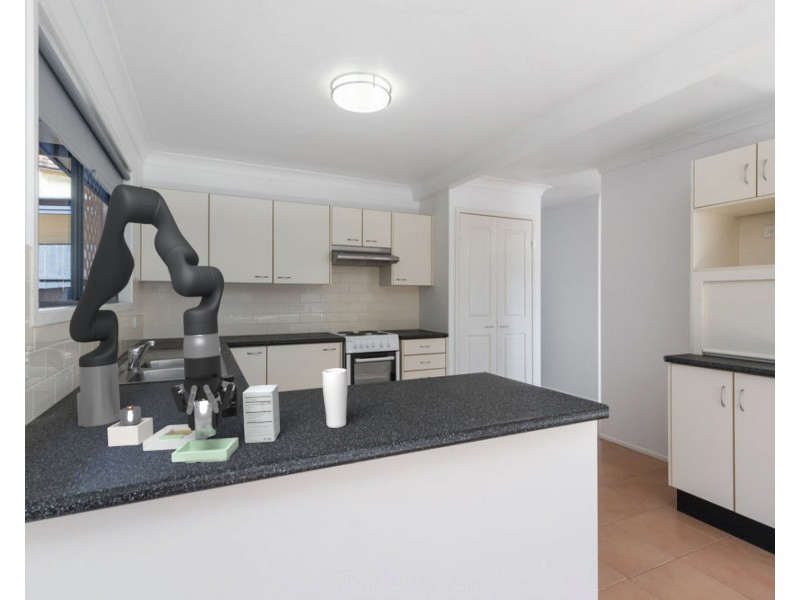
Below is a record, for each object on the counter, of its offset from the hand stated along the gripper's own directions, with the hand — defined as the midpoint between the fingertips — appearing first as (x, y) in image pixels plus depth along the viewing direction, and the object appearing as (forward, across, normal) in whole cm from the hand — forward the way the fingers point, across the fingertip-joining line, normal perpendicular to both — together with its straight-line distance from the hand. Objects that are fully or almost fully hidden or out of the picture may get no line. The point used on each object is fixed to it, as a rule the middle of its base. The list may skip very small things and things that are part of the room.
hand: (205, 428), depth 94 cm
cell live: (+1, 0, 0) cm, 1 cm away
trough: (+6, 0, 0) cm, 6 cm away
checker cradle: (+6, -10, +10) cm, 16 cm away
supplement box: (+6, +10, +10) cm, 16 cm away
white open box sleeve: (+6, -23, +12) cm, 27 cm away
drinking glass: (+6, +28, +16) cm, 33 cm away
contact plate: (+6, -10, +10) cm, 16 cm away
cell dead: (+6, -23, +12) cm, 27 cm away
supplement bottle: (+6, -6, +31) cm, 32 cm away
